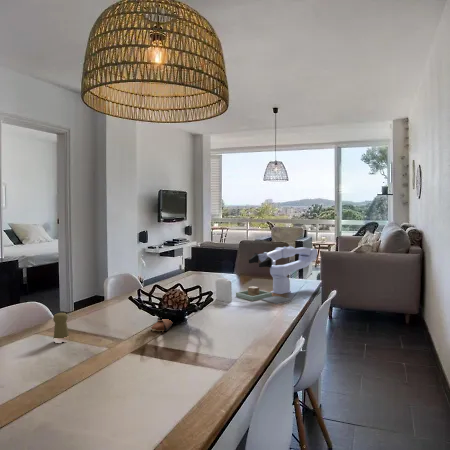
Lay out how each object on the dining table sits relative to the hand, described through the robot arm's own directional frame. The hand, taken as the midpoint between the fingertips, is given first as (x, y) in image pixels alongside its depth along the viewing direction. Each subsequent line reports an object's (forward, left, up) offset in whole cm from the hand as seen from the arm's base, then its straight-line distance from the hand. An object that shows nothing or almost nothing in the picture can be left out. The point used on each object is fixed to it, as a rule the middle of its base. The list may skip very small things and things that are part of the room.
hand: (254, 263), depth 213 cm
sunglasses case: (+60, +9, -20) cm, 64 cm away
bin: (-2, -3, -19) cm, 20 cm away
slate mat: (-5, +11, -19) cm, 23 cm away
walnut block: (-2, -3, -19) cm, 19 cm away
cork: (+101, -1, -20) cm, 102 cm away
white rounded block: (+15, -8, -20) cm, 26 cm away
